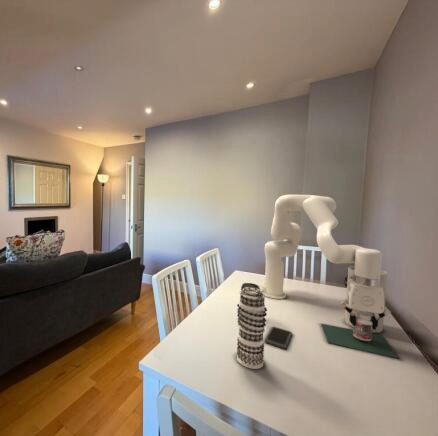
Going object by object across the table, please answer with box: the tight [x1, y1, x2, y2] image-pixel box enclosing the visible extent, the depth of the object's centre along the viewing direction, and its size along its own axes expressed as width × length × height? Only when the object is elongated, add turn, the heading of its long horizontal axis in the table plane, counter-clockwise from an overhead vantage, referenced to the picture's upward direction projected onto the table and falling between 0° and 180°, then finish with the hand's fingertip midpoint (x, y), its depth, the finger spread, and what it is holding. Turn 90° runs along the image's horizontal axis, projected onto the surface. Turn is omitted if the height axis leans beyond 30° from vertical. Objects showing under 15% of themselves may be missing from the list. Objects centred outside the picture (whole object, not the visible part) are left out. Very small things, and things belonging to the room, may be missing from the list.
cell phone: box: [264, 326, 293, 350], centre depth 98 cm, size 7×14×1 cm, turn 141°
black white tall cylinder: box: [236, 287, 268, 370], centre depth 83 cm, size 9×9×25 cm
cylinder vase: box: [344, 265, 388, 334], centre depth 106 cm, size 12×12×25 cm
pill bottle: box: [352, 311, 373, 341], centre depth 95 cm, size 5×5×10 cm
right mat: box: [320, 323, 400, 360], centre depth 97 cm, size 20×16×1 cm
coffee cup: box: [240, 282, 260, 291], centre depth 115 cm, size 8×8×15 cm
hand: (362, 325), depth 95 cm, fingers closed on pill bottle, 5 cm apart
